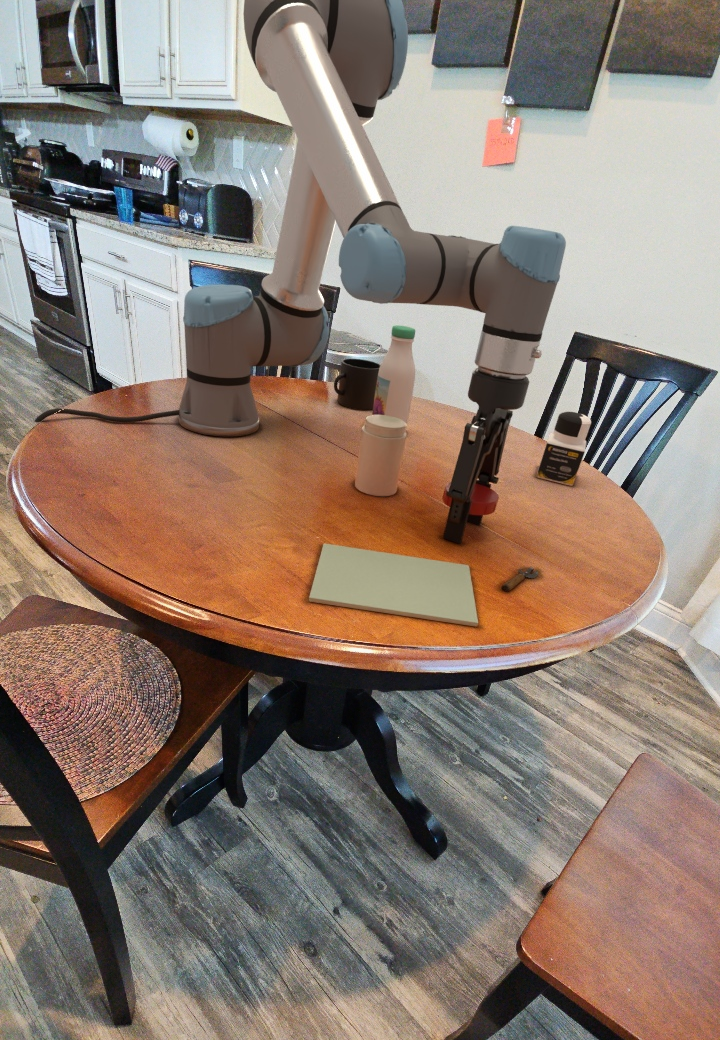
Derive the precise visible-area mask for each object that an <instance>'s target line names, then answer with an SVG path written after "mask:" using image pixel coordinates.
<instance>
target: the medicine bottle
mask: <svg viewBox="0 0 720 1040" xmlns="http://www.w3.org/2000/svg"><path fill="white" fill-rule="evenodd" d="M591 425H592V419H591V418H589V417H588V416H587V415H585V414H583V413H580V412H575V411H564V412H560V413H559V414H558V417H557V420H556V423H555V425H554V428H553V432H550V433H549V435H548V438H547V440H546V444H545V447H544V450H543V453H542V456H541V460H540V462H539V465H538V469H537V472H536V475H535V476H536V478H538V479H541V480H545V481H550V482H554V483H558V484H562V485H565V486H570V487H572V486H574V484H575V481H576V478H577V475H578V472H579V469H580V466H581V464H582V462H583V459H584V456H585V453H586V449H587V448H586V447H587V440H586V438H587V436H588V433H589V430H590V427H591Z"/></svg>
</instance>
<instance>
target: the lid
mask: <svg viewBox="0 0 720 1040" xmlns="http://www.w3.org/2000/svg"><path fill="white" fill-rule="evenodd" d="M450 484H451V481H450V482H448V483H446V485H444V490H443V493H442V496H441V497H442V498H441V499H442V502H443V503H444V504H445V505H446V506H447V507H448V508H450V505H451V501H452V498H450V497H448V496H446V493H447V491H449V488H450ZM470 500H472V503H471V507H470V511H469V514H471V515H483V516H488V515H491V514H494V513H495V512H496V510H497V506H498V502H499V500H500V496H499V494H498V493H497V492H496V491H495V490H494V489H492V488H488V487H486V486H483V485H480V484H477V483H476V484H475V486H474V489H473V492H472V495H471V499H470Z"/></svg>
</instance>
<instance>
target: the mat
mask: <svg viewBox="0 0 720 1040" xmlns="http://www.w3.org/2000/svg"><path fill="white" fill-rule="evenodd" d="M308 602H310V603H316V604H323V605H329V606H337V607H343V608H348V609H349V608H350V609H355V610H362V611H370V612H376V613H383V614H384V613H385V614H390V615H397V616H402V617H410V618H416V619H422V620H430V621H436V622H442V623H449V624H456V625H463V626H469V627H478V626H479V619H478V612H477V607H476V606H477V605H476V600H475V593H474V588H473V583H472V576H471V569H470V565H469V564H463V563H456V562H450V561H443V560H437V559H431V558H430V559H429V558H425V557H424V558H423V557H417V556H412V555H411V556H410V555H403V554H397V553H390V552H384V551H378V550H371V549H370V550H369V549H364V548H358V547H351V546H345V545H338V544H331V543H323V544H322V548H321V552H320V556H319V560H318V562H317V566H316V570H315V575H314V578H313V581H312V586H311V589H310V593H309V596H308Z"/></svg>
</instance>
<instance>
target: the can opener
mask: <svg viewBox="0 0 720 1040" xmlns="http://www.w3.org/2000/svg"><path fill="white" fill-rule="evenodd" d="M523 570H524V569H523V568H519V569H518V574H517V575H516V576H514V577H513V578H511V579H508V581H506V582H505V583H504V584H502V586H501V588H500V589H501V591H503V592H505V593H508V592H510V591H512V590H513V589H514V588H515V587H517V585H518V584H520V583H521V582H523V581H524V580H525V578H528V579H535V578H537V577H538V576H539V572H538V570H535V568H534V567H532V566H529V567H528V568H527V569H526V571H523ZM534 570H535V571H534ZM531 572H533V573H532V574H531Z"/></svg>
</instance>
